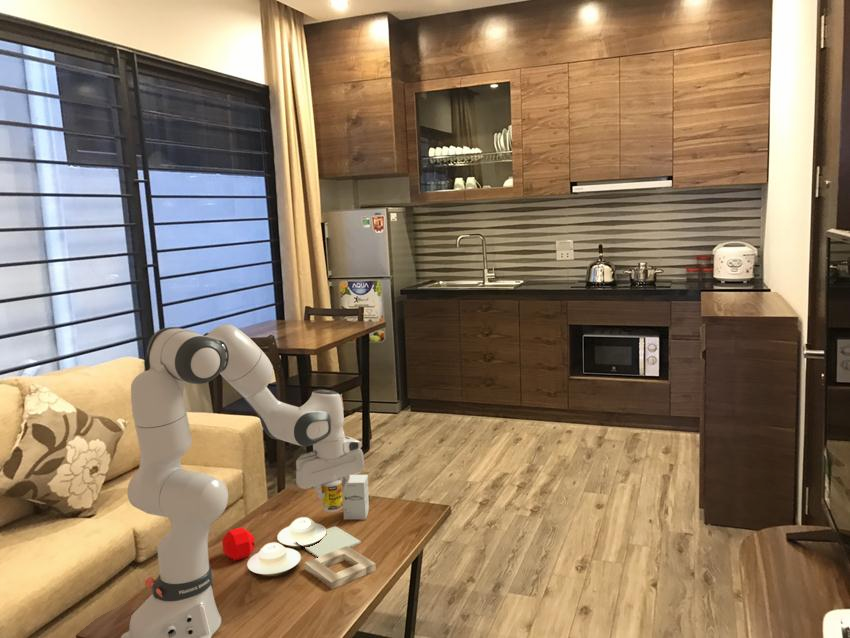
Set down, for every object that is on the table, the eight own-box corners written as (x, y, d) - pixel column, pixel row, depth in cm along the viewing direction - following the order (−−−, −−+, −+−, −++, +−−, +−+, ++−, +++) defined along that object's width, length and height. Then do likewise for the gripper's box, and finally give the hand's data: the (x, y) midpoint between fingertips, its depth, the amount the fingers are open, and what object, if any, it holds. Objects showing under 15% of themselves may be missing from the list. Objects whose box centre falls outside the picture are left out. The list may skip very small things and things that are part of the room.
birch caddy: (332, 589, 178) (331, 582, 178) (304, 569, 189) (304, 562, 188) (375, 570, 187) (375, 563, 186) (347, 552, 197) (347, 545, 197)
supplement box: (343, 520, 219) (341, 482, 217) (347, 510, 226) (345, 473, 224) (366, 520, 218) (364, 482, 216) (369, 510, 225) (367, 473, 223)
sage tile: (320, 559, 194) (319, 557, 194) (295, 542, 205) (295, 540, 204) (360, 543, 203) (360, 541, 203) (335, 527, 213) (335, 526, 213)
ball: (257, 557, 196) (255, 532, 195) (230, 565, 192) (228, 540, 191) (248, 546, 203) (246, 522, 202) (221, 554, 199) (219, 530, 198)
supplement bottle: (328, 514, 187) (325, 478, 186) (319, 507, 192) (317, 472, 190) (346, 508, 190) (344, 473, 189) (337, 502, 195) (335, 468, 193)
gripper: (301, 459, 179) (305, 509, 182) (366, 440, 192) (368, 487, 194) (289, 453, 184) (293, 502, 186) (353, 435, 197) (356, 481, 199)
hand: (332, 494), depth 190 cm, fingers closed on supplement bottle, 6 cm apart
